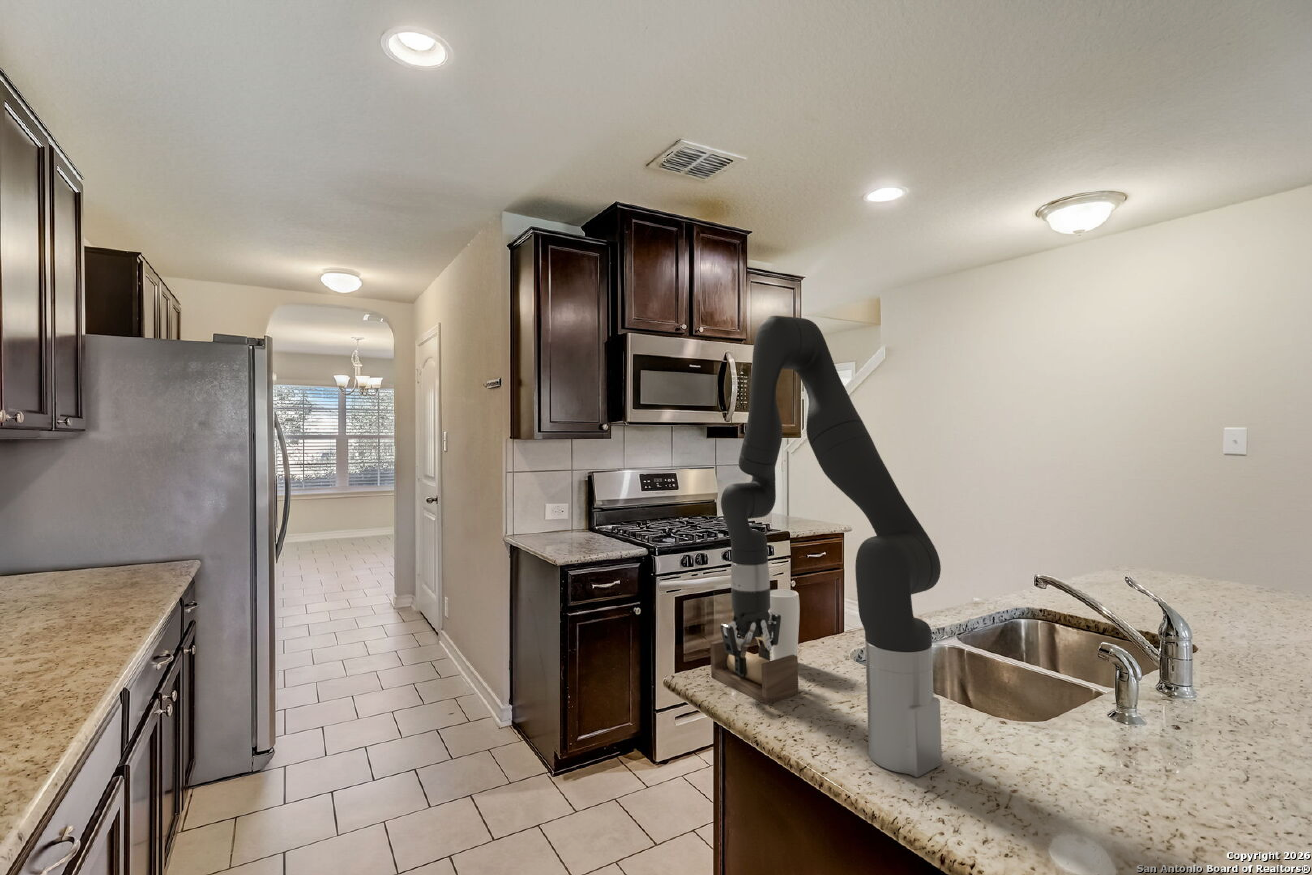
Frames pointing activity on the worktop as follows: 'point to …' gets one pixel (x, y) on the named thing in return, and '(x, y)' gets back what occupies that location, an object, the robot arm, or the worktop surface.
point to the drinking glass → (785, 622)
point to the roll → (749, 666)
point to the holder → (775, 676)
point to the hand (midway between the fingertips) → (753, 671)
